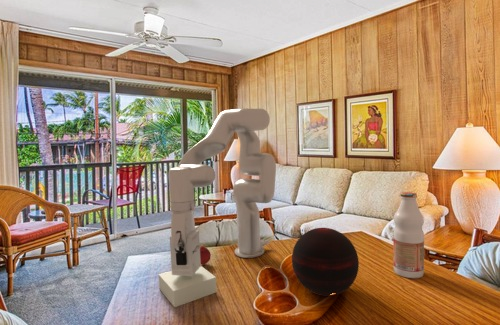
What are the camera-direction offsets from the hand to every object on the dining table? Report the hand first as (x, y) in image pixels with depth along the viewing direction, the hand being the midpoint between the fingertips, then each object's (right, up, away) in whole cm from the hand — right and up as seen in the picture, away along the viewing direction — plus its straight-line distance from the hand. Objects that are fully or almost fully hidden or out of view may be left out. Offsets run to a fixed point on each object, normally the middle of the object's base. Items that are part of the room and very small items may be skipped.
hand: (186, 259), depth 98 cm
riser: (0, -10, +1) cm, 10 cm away
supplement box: (0, -4, 0) cm, 4 cm away
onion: (+3, -9, +20) cm, 22 cm away
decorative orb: (+44, -9, -3) cm, 45 cm away
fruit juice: (+76, -7, +7) cm, 76 cm away
